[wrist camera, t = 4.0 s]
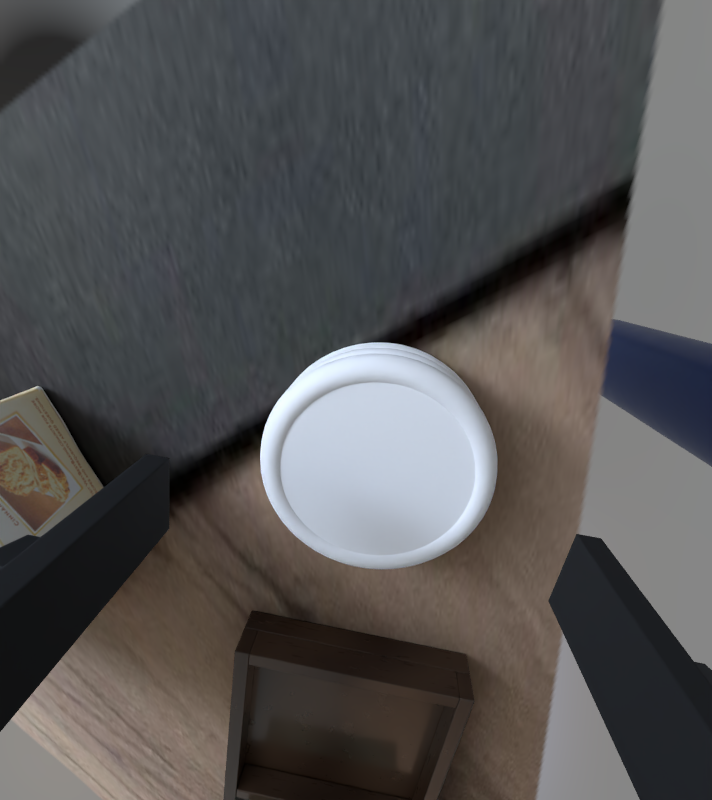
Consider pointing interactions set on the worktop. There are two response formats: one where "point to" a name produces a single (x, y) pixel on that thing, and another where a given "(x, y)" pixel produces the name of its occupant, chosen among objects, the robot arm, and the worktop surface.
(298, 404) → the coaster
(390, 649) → the dark brown wooden tray
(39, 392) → the coffeecake box
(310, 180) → the worktop surface
